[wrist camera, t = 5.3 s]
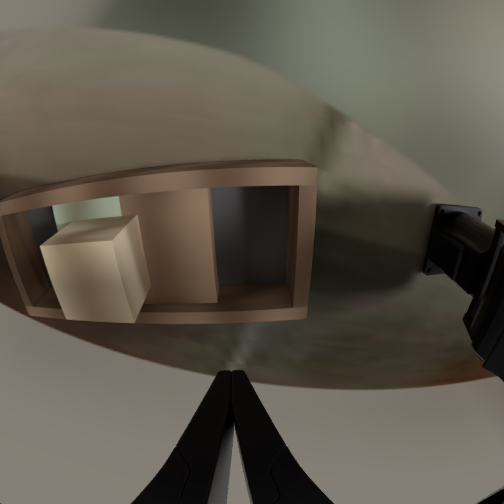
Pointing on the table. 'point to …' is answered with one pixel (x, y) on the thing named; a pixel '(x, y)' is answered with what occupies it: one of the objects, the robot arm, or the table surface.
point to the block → (99, 269)
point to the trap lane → (184, 237)
